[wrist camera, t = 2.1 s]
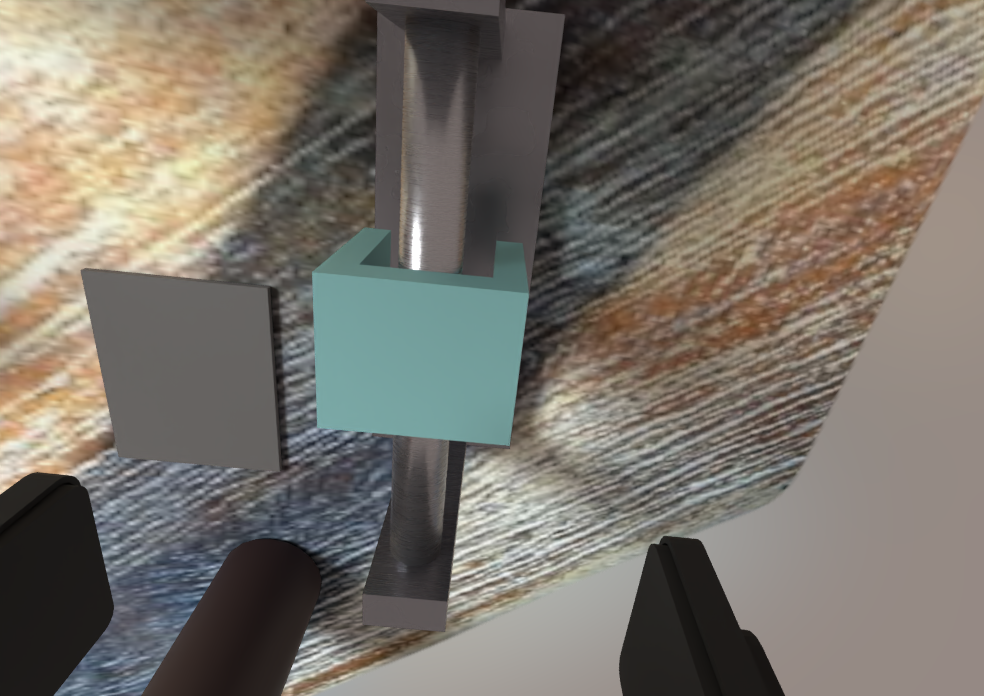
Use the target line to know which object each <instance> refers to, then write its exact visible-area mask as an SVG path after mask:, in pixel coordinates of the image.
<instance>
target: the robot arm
mask: <svg viewBox="0 0 984 696" xmlns="http://www.w3.org/2000/svg"><path fill="white" fill-rule="evenodd" d="M113 610H114V604H113V599H112V595H111V590H110V586H109V582H108V577H107V573H106V568H105V564H104V560H103V555H102V551H101V547H100V542H99V538H98V533H97V529H96V525H95V520H94V516H93V511H92V507H91V503H90V498H89V494H88V491H87V489H86V488H85V487H83V486H81V485H80V482H79V480H78V479H77V478H76V477H73V476H69V475H59V474H49V473H39V472H36V473H31V474H29V475H27V476H25V477H24V478H22V479H21V480H20V481H18V482H17V483H16V484H14V485H13V486H11V487H10V488H9V489H7V490H6V491H5V492H3V493H2V494H1V495H0V696H53V695H54V694H55V693H56V692H57V690H58V689H59V688H60V687H61V685H62V684H63V683H64V682H65V680H66V679H67V678H68V676H69V675H70V674H71V673H72V671H73V670H74V669H75V668H76V666H77V665H78V664H79V663H80V661H81V660H82V659H83V658H84V656H85V655H86V654H87V653H88V651H89V650H90V649H91V647H92V646H93V645H94V644H95V642H96V641H97V640H98V639H99V637H100V636H101V635H102V634H103V632H104V631H105V630H106V628H107V627H108V625H109V623H110V621H111V618H112V615H113ZM619 674H620V682H621V688H622V693H623V696H785V695H784V693H783V690H782V688H781V686H780V684H779V682H778V680H777V677H776V675H775V673H774V671H773V669H772V667H771V665H770V662H769V660H768V658H767V656H766V654H765V652H764V650H763V648H762V646H761V644H760V642H759V641H758V639H757V637H756V636H755V635H754V634H753V633H752V632H750V631H748V630H741V629H740V627H739V625H738V622H737V620H736V618H735V616H734V614H733V611H732V609H731V606H730V604H729V602H728V600H727V597H726V595H725V593H724V591H723V588H722V586H721V584H720V582H719V579H718V577H717V575H716V572H715V570H714V568H713V566H712V563H711V561H710V559H709V557H708V555H707V552H706V550H705V548H704V546H703V544H702V542H701V541H700V540H698V539H691V538H681V537H671V536H663V538H662V539H661V541H660V543H659V544H651V545H650V546H649V549H648V552H647V556H646V560H645V564H644V567H643V571H642V575H641V579H640V583H639V586H638V590H637V594H636V598H635V602H634V605H633V609H632V613H631V617H630V621H629V624H628V629H627V632H626V636H625V640H624V643H623V647H622V651H621V655H620V663H619Z"/></svg>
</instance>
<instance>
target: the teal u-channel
mask: <svg viewBox="0 0 984 696" xmlns="http://www.w3.org/2000/svg"><path fill="white" fill-rule="evenodd" d="M390 255H391V230H384V229H374V228H363V229H362V230H361V231H360V232H359V233H358V234H356V235H355V236H354V237H353V238H352V239H351V240H349V241H348V242H347V243H346V244H345V245H343V246H342V247H341V248H340V249H339V250H338V251H336V252H335V253H334V254H333V255H332V256H331V257H329V258H328V259H327V260H326V261H325V262H323V263H322V264H321V265H320V266H319V267H318V268H316V269H315V270H314V271H313V272H312V281H313V310H314V340H315V369H316V399H317V428H326V429H337V430H347V431H358V432H369V433H379V434H390V435H400V436H411V437H422V438H432V439H443V440H454V441H464V442H475V443H486V444H496V445H507V446H510V438H511V431H512V423H513V415H514V407H515V399H516V392H517V384H518V376H519V368H520V360H521V352H522V345H523V337H524V329H525V321H526V313H527V306H528V298H529V289H528V281H527V273H526V265H525V257H524V250H523V243H514V242H504V241H496V251H495V261H494V271H493V278H491V277H481V276H471V275H461V274H451V273H441V272H431V271H421V270H411V269H401V268H391V267H390Z"/></svg>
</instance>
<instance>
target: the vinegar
mask: <svg viewBox="0 0 984 696" xmlns="http://www.w3.org/2000/svg"><path fill="white" fill-rule="evenodd" d="M321 584H322V580H321V576H320V572H319V569H318V567H317V566H316V564H315V563H314V561H313V560H312V558H311V557H309V556H308V555H307V554H306V553H305V552H303V551H302V550H301V549H300V548H298V547H295V546H293V545H291V544H289V543H287V542H283V541H278V540H274V539H255V540H252V541H249V542H245V543H242V544H241V545H239V546H238V547H237V548H235V549H234V550H232V551H231V552H230V553H229V555H228V557H227V558H226V560H225V561H224V563H223V565H222V566H221V568H220V569H219V571H218V573H217V574H216V576H215V577H214V579H213V581H212V582H211V584H210V586H209V587H208V589H207V590H206V592H205V594H204V595H203V597H202V598H201V600H200V602H199V603H198V605H197V607H196V608H195V610H194V611H193V613H192V615H191V616H190V618H189V619H188V621H187V623H186V624H185V626H184V627H183V629H182V631H181V632H180V634H179V636H178V637H177V639H176V640H175V642H174V644H173V645H172V647H171V648H170V650H169V652H168V653H167V655H166V657H165V658H164V660H163V661H162V663H161V665H160V666H159V668H158V669H157V671H156V673H155V674H154V676H153V677H152V679H151V681H150V682H149V684H148V686H147V687H146V689H145V690H144V692H143V694H142V695H141V696H281V694H282V691H283V688H284V686H285V683H286V681H287V678H288V675H289V673H290V670H291V668H292V665H293V662H294V660H295V657H296V654H297V652H298V649H299V647H300V644H301V641H302V639H303V636H304V634H305V631H306V628H307V626H308V623H309V620H310V618H311V615H312V613H313V610H314V607H315V605H316V602H317V600H318V597H319V594H320V589H321Z"/></svg>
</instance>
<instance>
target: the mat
mask: <svg viewBox="0 0 984 696" xmlns="http://www.w3.org/2000/svg"><path fill="white" fill-rule="evenodd" d="M81 275H82V280H83V285H84V289H85V294H86V299H87V304H88V309H89V314H90V319H91V324H92V329H93V333H94V338H95V343H96V348H97V353H98V358H99V363H100V368H101V373H102V377H103V382H104V387H105V392H106V397H107V402H108V407H109V412H110V417H111V421H112V426H113V431H114V436H115V441H116V446H117V451H118V456H119V457H125V458H136V459H146V460H157V461H168V462H179V463H190V464H200V465H211V466H222V467H233V468H244V469H255V470H265V471H276V472H280V471H281V469H282V458H281V443H280V428H279V413H278V397H277V382H276V367H275V352H274V336H273V321H272V306H271V291H270V286H262V285H252V284H242V283H232V282H221V281H211V280H201V279H191V278H181V277H171V276H160V275H150V274H140V273H130V272H120V271H109V270H99V269H89V268H85V269H82V270H81Z"/></svg>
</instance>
